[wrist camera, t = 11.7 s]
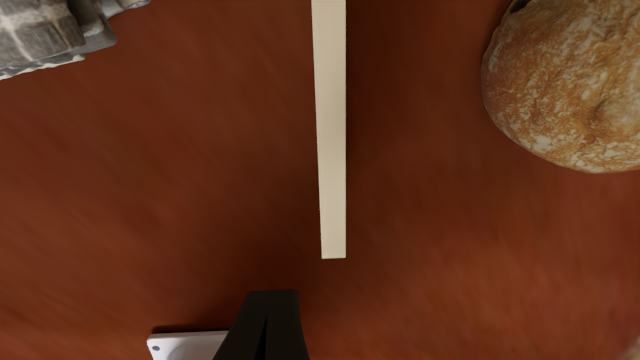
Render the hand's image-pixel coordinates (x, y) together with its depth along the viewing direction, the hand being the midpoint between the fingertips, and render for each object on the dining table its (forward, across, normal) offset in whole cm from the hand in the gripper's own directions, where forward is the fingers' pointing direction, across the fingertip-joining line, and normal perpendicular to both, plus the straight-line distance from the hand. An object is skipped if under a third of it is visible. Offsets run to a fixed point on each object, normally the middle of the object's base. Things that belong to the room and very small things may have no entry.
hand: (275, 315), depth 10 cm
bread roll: (+10, -14, -6) cm, 18 cm away
